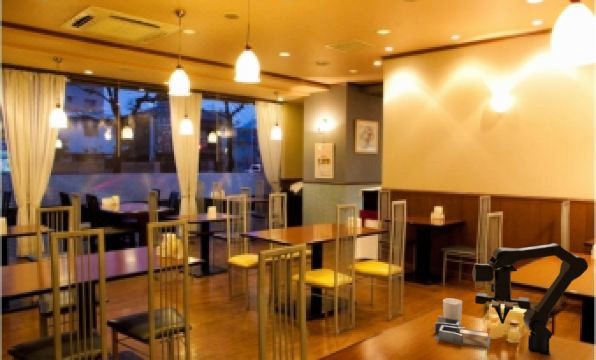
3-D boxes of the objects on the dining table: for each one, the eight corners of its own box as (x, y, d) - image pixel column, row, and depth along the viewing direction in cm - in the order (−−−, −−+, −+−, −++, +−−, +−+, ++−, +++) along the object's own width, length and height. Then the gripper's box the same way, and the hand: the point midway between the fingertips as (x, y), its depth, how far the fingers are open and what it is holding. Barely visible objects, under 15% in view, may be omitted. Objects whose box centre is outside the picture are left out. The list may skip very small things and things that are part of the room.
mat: (491, 333, 186) (491, 332, 186) (488, 349, 171) (488, 348, 171) (440, 326, 195) (440, 325, 195) (433, 340, 180) (433, 339, 180)
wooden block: (488, 343, 175) (488, 333, 175) (487, 346, 172) (487, 336, 172) (460, 339, 180) (460, 329, 180) (459, 342, 177) (459, 332, 177)
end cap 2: (465, 337, 182) (465, 327, 182) (462, 346, 173) (462, 335, 173) (442, 333, 186) (442, 323, 186) (438, 342, 177) (438, 331, 177)
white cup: (458, 328, 192) (458, 305, 192) (440, 324, 197) (440, 301, 197) (464, 323, 199) (464, 300, 198) (446, 319, 203) (446, 297, 203)
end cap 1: (434, 332, 187) (434, 323, 186) (438, 325, 195) (438, 315, 195) (457, 336, 183) (457, 326, 183) (460, 328, 191) (460, 318, 191)
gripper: (530, 279, 174) (530, 320, 174) (477, 274, 182) (477, 313, 183) (530, 287, 164) (530, 329, 164) (474, 281, 172) (475, 322, 173)
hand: (502, 323), depth 171 cm, fingers closed
